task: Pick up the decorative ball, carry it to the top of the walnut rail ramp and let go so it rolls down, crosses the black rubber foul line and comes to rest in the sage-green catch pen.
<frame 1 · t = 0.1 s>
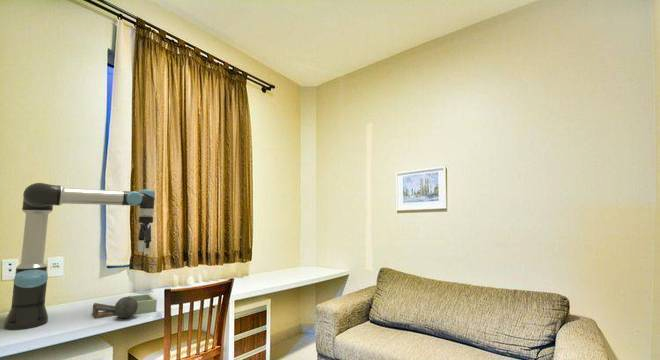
hand: (143, 252, 203), 28 cm above the table, fingers open, 13 cm apart
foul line: (127, 311, 182), on the table
decorative ball: (125, 318, 172), on the table
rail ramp: (105, 314, 176), on the table
catch pen: (140, 309, 186), on the table
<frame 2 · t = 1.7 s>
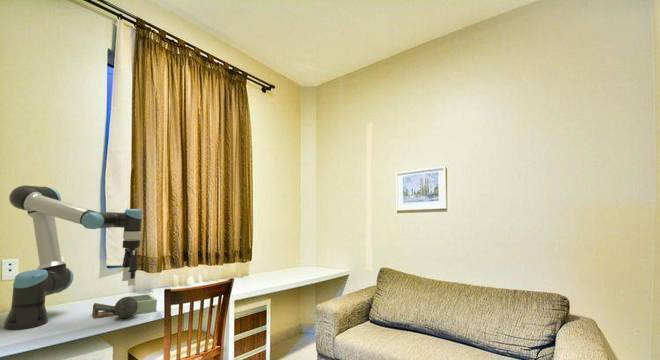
hand: (128, 283, 174), 17 cm above the table, fingers open, 13 cm apart
nothing on the table moved.
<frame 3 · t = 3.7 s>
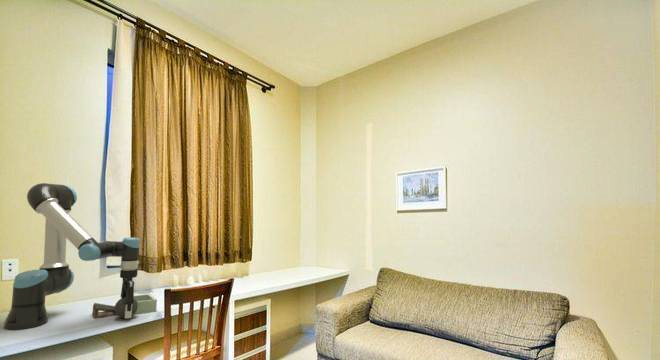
hand: (125, 315, 172), 1 cm above the table, fingers closed on decorative ball, 10 cm apart
decorative ball: (125, 318, 172), on the table, touching gripper
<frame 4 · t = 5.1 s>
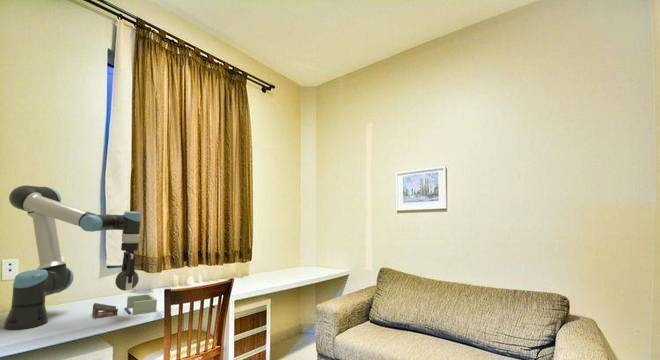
hand: (126, 287, 173), 14 cm above the table, fingers closed on decorative ball, 10 cm apart
decorative ball: (126, 290, 173), point 13 cm above the table, touching gripper
when the fingers open (8 cm above the table, at t = 7.0 s): decorative ball moves 16 cm, point 10 cm above the table.
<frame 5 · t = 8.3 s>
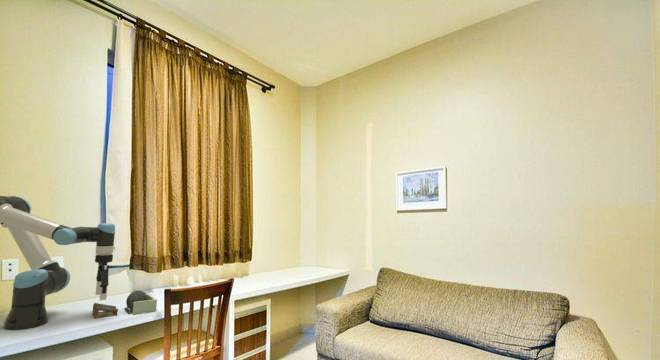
hand: (100, 297, 175), 9 cm above the table, fingers open, 13 cm apart
decorative ball: (136, 290, 185), point 10 cm above the table
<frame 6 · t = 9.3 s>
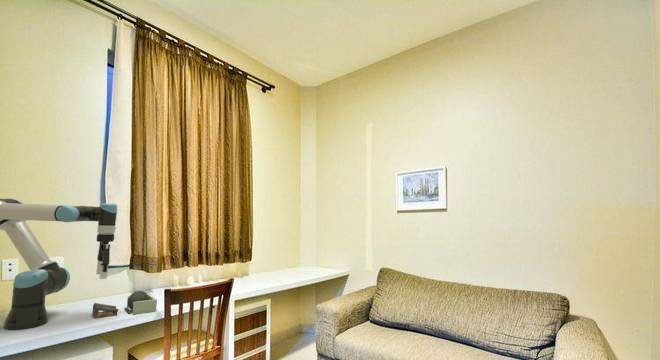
hand: (101, 276, 176), 19 cm above the table, fingers open, 13 cm apart
decorative ball: (139, 290, 186), point 10 cm above the table
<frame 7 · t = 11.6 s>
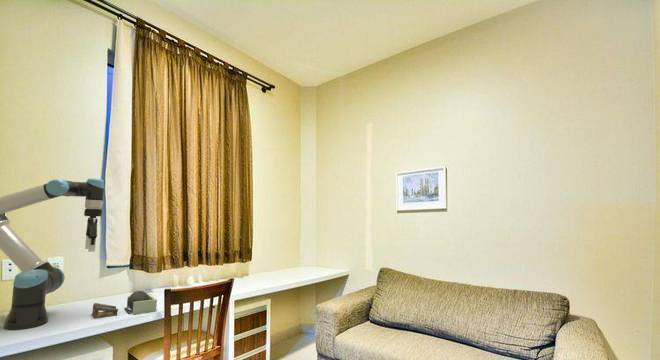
hand: (89, 250, 179), 32 cm above the table, fingers open, 13 cm apart
nothing on the table moved.
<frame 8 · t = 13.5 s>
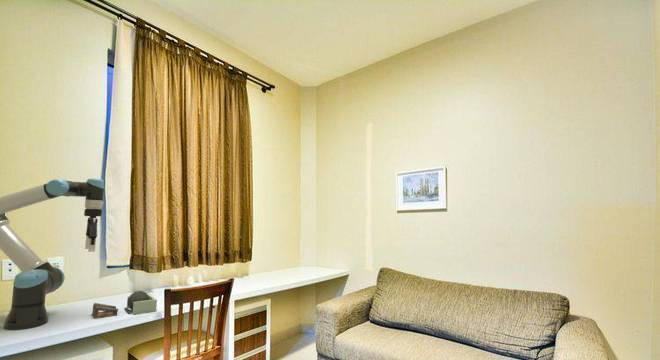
hand: (89, 250, 179), 32 cm above the table, fingers open, 13 cm apart
nothing on the table moved.
at the end: decorative ball inside the target area (0.5 cm from its centre), point 10.2 cm above the table; decorative ball moved 16.4 cm from its start; the gripper is holding nothing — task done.
